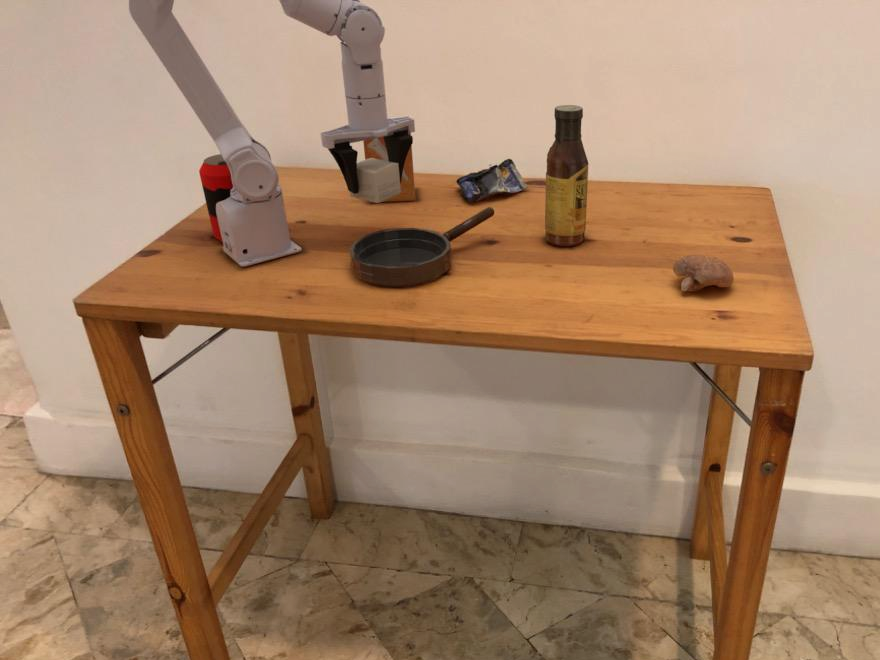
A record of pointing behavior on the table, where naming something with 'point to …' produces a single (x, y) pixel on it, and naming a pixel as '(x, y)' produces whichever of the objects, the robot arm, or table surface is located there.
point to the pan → (400, 257)
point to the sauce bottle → (566, 180)
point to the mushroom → (702, 272)
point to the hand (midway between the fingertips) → (374, 186)
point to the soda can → (215, 187)
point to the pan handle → (469, 224)
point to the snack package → (491, 181)
